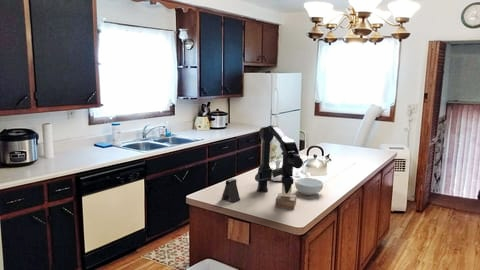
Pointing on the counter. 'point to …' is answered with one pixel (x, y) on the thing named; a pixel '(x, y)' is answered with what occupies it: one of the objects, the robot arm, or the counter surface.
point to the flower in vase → (273, 149)
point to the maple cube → (284, 190)
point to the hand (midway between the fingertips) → (286, 191)
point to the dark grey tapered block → (231, 191)
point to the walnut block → (285, 201)
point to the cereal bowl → (308, 186)
